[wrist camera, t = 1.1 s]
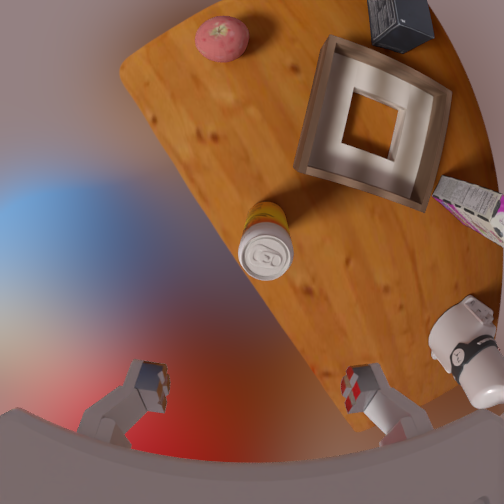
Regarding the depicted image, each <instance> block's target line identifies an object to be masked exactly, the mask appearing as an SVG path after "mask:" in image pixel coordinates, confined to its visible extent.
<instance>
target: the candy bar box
mask: <svg viewBox="0 0 504 504" xmlns="http://www.w3.org/2000/svg"><path fill="white" fill-rule="evenodd" d="M432 197H434V198H435V199H436V200H437V201H438V202H439V203H441V204H442V205H443V206H444V207H445V208H446V209H448V210H449V211H450V212H451V213H452V214H453V215H454V216H455V217H456V218H457V219H459V220H460V221H461V222H462V223H463V224H464V225H466V226H468V227H469V228H471V229H473V230H475V231H476V232H478V233H480V234H482V235H483V236H485V237H487V238H488V239H490V240H492V241H493V242H495V243H497V244H498V245H500V246H501V247H503V248H504V195H503V194H502V193H499V192H496V191H493V190H490V189H488V188H485V187H481V186H478V185H475V184H472V183H468V182H465V181H462V180H459V179H455V178H452V177H448V176H445V175H442V177H441V178H440V180H439V183H438V185H437V187H436V189H435V191H434V193H433V194H432Z"/></svg>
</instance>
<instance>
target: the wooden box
mask: <svg viewBox="0 0 504 504" xmlns="http://www.w3.org/2000/svg"><path fill="white" fill-rule="evenodd" d="M353 92H355V93H358V94H360V95H363V96H366V97H368V98H371V99H373V100H376V101H378V102H380V103H383V104H385V105H387V106H390V107H392V108H394V109H396V110H398V115H397V120H396V124H395V129H394V133H393V138H392V142H391V146H390V150H389V154H388V158H387V159H385V158H382V157H380V156H377V155H374V154H372V153H369V152H366V151H363V150H361V149H358V148H355V147H352V146H349V145H346V144H343V143H341V141H342V137H343V133H344V129H345V125H346V121H347V116H348V112H349V107H350V103H351V98H352V94H353ZM451 98H452V91H450V90H449V89H447V88H446V87H444V86H442V85H441V84H439V83H437V82H436V81H434V80H432V79H431V78H429V77H427V76H425V75H424V74H422V73H420V72H418V71H416V70H415V69H413V68H411V67H409V66H407V65H405V64H403V63H401V62H399V61H397V60H395V59H392V58H390V57H388V56H386V55H384V54H381V53H379V52H377V51H374V50H372V49H369V48H367V47H364V46H362V45H359V44H357V43H354V42H351V41H348V40H345V39H343V38H340V37H336V36H333V35H329V37H328V38H327V40H326V42H325V43H324V45H323V46H322V48H321V50H320V54H319V59H318V63H317V68H316V72H315V76H314V81H313V85H312V89H311V94H310V98H309V102H308V107H307V111H306V115H305V119H304V124H303V128H302V132H301V136H300V140H299V144H298V148H297V152H296V156H295V160H294V165H293V168H294V169H295V170H296V171H298V172H300V173H304V174H308V175H311V176H315V177H319V178H322V179H326V180H329V181H333V182H336V183H339V184H343V185H346V186H349V187H352V188H356V189H359V190H362V191H365V192H368V193H371V194H374V195H377V196H380V197H383V198H386V199H388V200H391V201H394V202H397V203H400V204H402V205H405V206H408V207H410V208H413V209H416V210H418V211H421V212H423V213H425V211H426V208H427V205H428V202H429V198H430V195H431V192H432V188H433V185H434V181H435V178H436V174H437V170H438V166H439V162H440V158H441V154H442V149H443V145H444V140H445V135H446V130H447V124H448V119H449V112H450V106H451Z"/></svg>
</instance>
